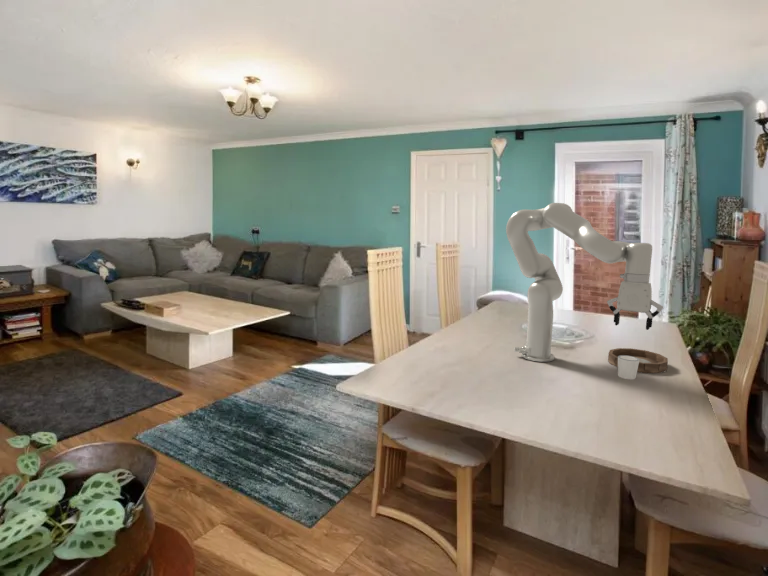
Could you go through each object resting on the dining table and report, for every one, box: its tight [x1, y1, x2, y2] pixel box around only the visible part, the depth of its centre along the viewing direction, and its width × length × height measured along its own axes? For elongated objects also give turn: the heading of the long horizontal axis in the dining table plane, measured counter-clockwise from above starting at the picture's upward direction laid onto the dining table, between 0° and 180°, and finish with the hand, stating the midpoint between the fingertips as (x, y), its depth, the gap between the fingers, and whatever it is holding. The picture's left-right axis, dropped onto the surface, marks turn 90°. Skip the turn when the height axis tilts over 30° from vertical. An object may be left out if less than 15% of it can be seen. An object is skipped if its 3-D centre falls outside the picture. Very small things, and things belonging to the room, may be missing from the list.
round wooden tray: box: [607, 347, 669, 374], centre depth 177 cm, size 20×20×4 cm
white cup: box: [617, 355, 639, 380], centre depth 163 cm, size 7×7×7 cm
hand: (632, 326), depth 160 cm, fingers open, 9 cm apart
